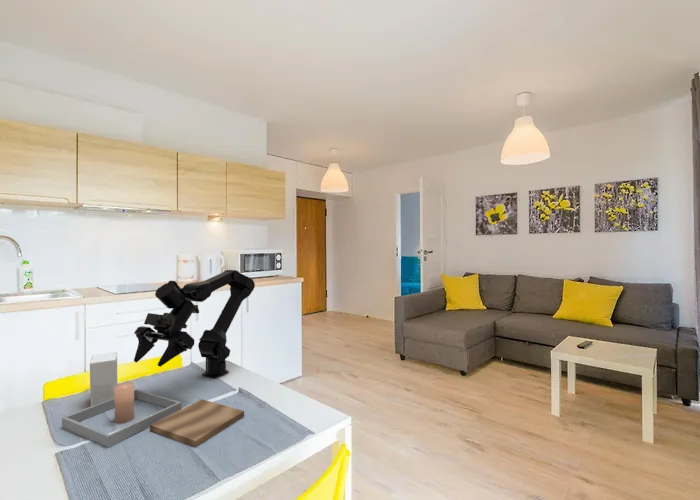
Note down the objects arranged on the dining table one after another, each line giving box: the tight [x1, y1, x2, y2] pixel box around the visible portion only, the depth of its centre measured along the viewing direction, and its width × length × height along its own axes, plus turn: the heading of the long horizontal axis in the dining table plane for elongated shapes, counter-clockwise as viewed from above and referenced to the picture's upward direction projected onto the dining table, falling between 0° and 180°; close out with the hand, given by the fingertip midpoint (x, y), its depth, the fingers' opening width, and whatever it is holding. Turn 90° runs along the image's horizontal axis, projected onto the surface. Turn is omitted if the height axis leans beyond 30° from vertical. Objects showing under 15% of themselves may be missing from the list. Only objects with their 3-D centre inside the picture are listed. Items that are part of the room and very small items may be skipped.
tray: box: [61, 388, 182, 448], centre depth 94 cm, size 19×19×2 cm
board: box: [149, 398, 245, 448], centre depth 92 cm, size 16×16×2 cm
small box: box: [89, 352, 118, 407], centre depth 104 cm, size 8×6×13 cm
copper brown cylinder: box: [113, 381, 135, 424], centre depth 94 cm, size 4×4×9 cm
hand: (146, 363), depth 100 cm, fingers open, 9 cm apart
